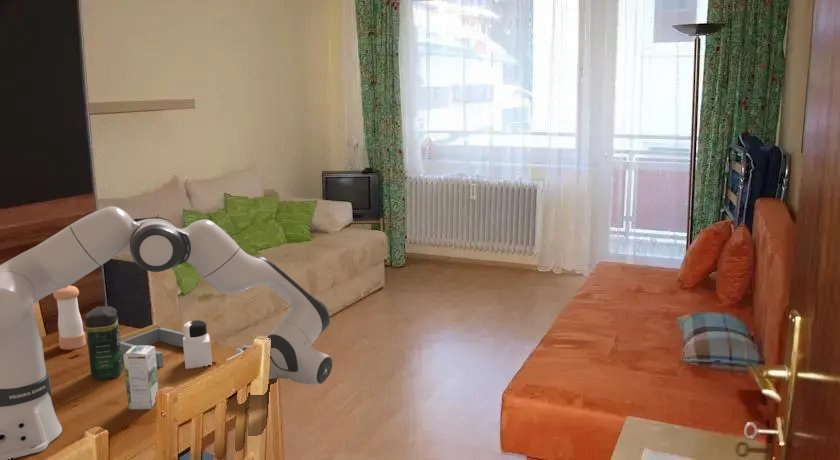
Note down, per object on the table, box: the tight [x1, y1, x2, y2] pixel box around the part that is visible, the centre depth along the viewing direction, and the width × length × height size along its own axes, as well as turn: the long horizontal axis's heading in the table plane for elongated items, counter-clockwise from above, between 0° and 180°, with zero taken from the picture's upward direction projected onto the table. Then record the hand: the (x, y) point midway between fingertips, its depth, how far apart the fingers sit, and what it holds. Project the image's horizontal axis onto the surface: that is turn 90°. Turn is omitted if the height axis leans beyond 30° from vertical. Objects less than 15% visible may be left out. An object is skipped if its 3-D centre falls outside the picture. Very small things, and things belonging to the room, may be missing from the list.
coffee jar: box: [84, 305, 124, 381], centre depth 200 cm, size 10×8×19 cm
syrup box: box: [122, 345, 160, 410], centre depth 182 cm, size 6×6×14 cm
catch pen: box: [120, 322, 185, 368], centre depth 216 cm, size 15×18×5 cm
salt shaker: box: [52, 285, 87, 351], centre depth 222 cm, size 7×7×19 cm
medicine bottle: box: [182, 319, 213, 370], centre depth 207 cm, size 7×7×12 cm
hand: (239, 350), depth 199 cm, fingers closed
